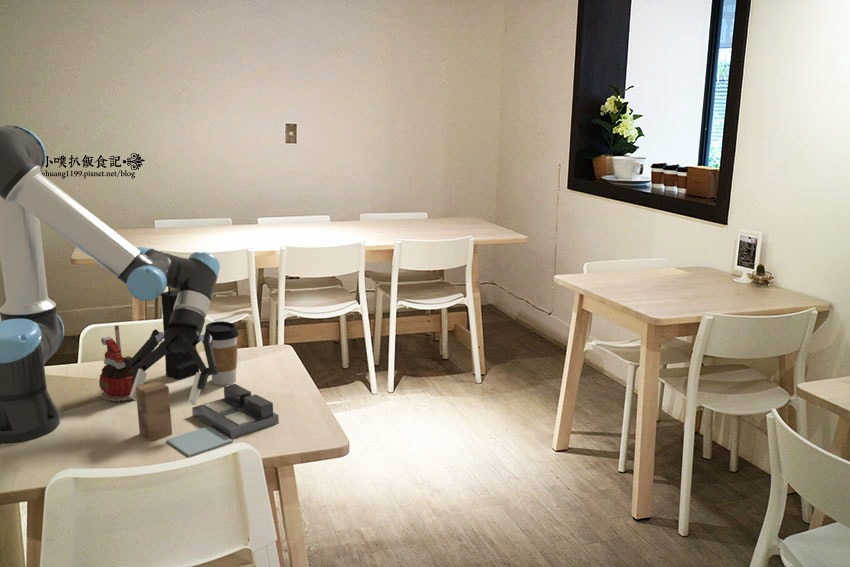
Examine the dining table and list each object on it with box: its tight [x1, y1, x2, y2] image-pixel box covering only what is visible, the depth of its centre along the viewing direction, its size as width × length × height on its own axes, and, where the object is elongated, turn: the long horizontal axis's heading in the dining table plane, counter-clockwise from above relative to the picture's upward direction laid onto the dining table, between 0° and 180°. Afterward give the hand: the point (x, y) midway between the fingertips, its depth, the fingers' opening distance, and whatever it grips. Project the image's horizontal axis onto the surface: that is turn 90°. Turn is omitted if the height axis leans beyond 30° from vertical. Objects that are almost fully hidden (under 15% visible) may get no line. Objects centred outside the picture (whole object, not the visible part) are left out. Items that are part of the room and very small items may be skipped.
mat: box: [166, 425, 234, 458], centre depth 163 cm, size 10×10×1 cm
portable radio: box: [160, 287, 200, 380], centre depth 199 cm, size 8×6×25 cm
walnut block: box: [136, 380, 173, 442], centre depth 165 cm, size 5×5×11 cm
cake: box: [98, 324, 135, 402], centre depth 185 cm, size 11×9×18 cm
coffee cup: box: [204, 320, 239, 386], centre depth 195 cm, size 8×8×15 cm
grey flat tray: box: [191, 383, 280, 440], centre depth 174 cm, size 17×12×5 cm
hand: (162, 400), depth 166 cm, fingers open, 13 cm apart
